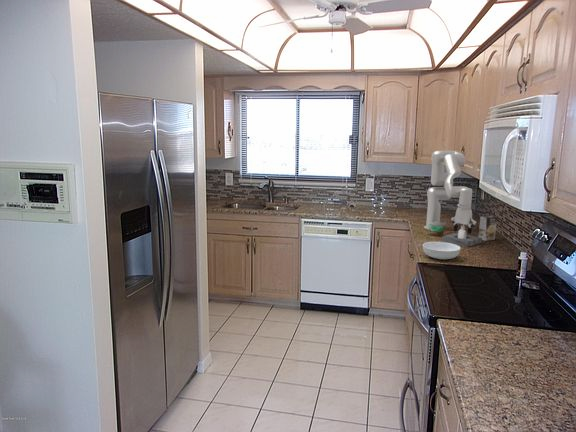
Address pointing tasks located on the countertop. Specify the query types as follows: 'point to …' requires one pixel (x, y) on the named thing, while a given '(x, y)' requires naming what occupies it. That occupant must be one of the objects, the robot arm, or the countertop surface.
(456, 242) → the holder block
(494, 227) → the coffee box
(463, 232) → the eye dropper bottle
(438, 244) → the serving bowl
